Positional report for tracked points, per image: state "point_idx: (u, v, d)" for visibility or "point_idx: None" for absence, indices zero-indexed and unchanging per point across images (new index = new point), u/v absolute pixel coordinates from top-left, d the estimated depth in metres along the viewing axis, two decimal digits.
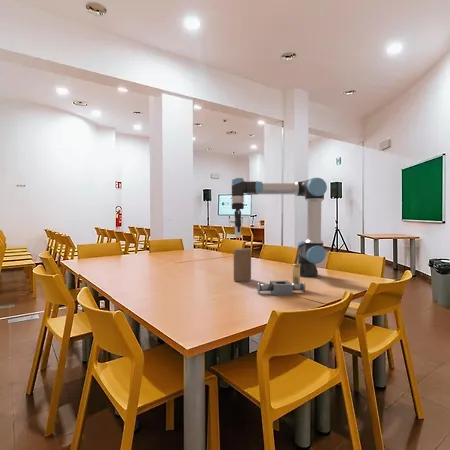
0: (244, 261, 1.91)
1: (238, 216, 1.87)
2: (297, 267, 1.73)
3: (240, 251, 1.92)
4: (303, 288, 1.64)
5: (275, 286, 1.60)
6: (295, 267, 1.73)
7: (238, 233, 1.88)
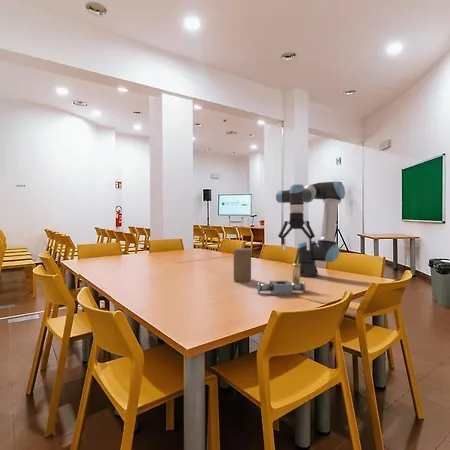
0: (244, 261, 1.91)
1: (282, 227, 1.74)
2: (297, 267, 1.73)
3: (240, 251, 1.92)
4: (303, 288, 1.64)
5: (275, 286, 1.60)
6: (295, 267, 1.73)
7: (283, 245, 1.74)
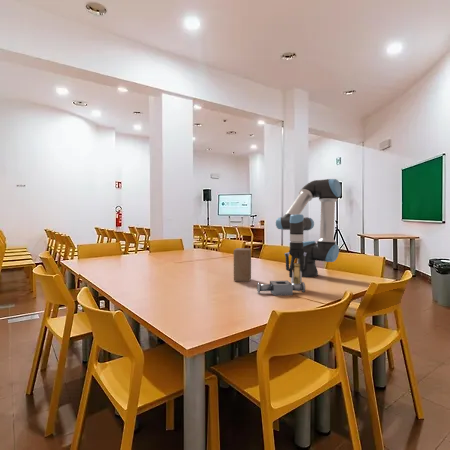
0: (244, 261, 1.91)
1: (286, 259, 1.75)
2: (297, 267, 1.73)
3: (240, 251, 1.92)
4: (303, 288, 1.64)
5: (275, 286, 1.60)
6: (295, 267, 1.73)
7: (291, 278, 1.75)
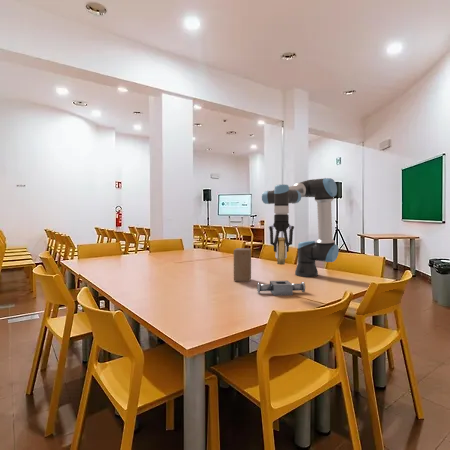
0: (244, 261, 1.91)
1: (270, 233, 1.64)
2: (282, 241, 1.63)
3: (240, 251, 1.92)
4: (303, 288, 1.64)
5: (275, 286, 1.60)
6: (280, 241, 1.63)
7: (276, 253, 1.65)
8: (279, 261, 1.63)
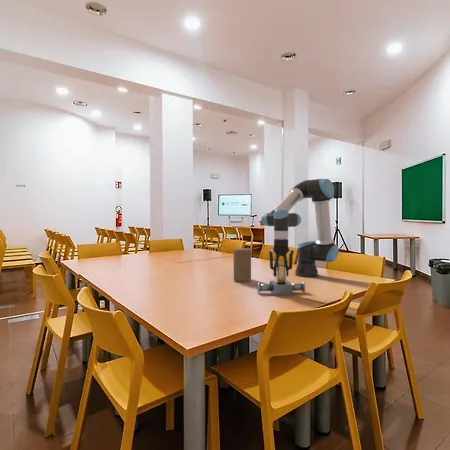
0: (244, 261, 1.91)
1: None
2: (281, 266, 1.63)
3: (240, 251, 1.92)
4: (303, 288, 1.64)
5: (275, 286, 1.60)
6: (279, 266, 1.63)
7: (275, 277, 1.65)
8: None
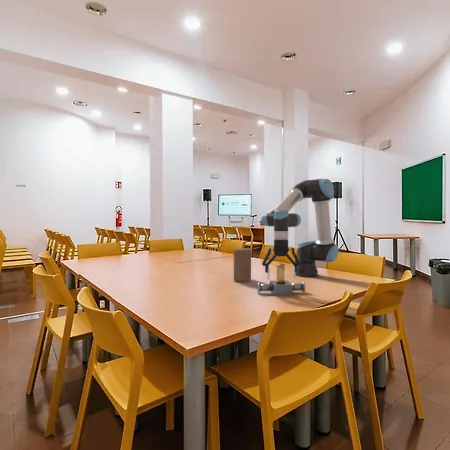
0: (244, 261, 1.91)
1: (266, 254, 1.65)
2: (281, 267, 1.63)
3: (240, 251, 1.92)
4: (303, 288, 1.64)
5: (275, 286, 1.60)
6: (279, 267, 1.63)
7: (267, 274, 1.65)
8: None
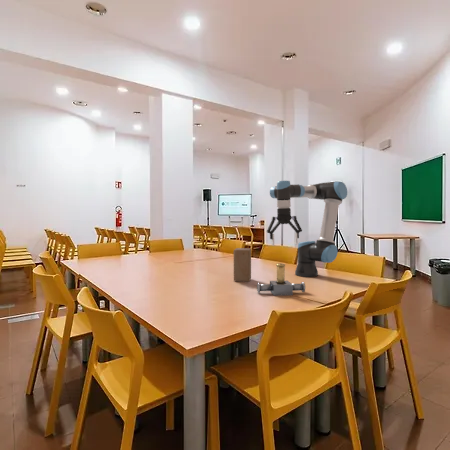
0: (244, 261, 1.91)
1: None
2: (281, 268, 1.63)
3: (240, 251, 1.92)
4: (303, 288, 1.64)
5: (275, 286, 1.60)
6: (279, 268, 1.63)
7: (272, 240, 1.79)
8: None
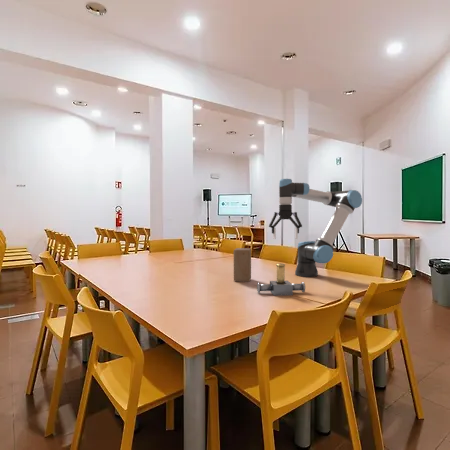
0: (244, 261, 1.91)
1: None
2: (281, 267, 1.63)
3: (240, 251, 1.92)
4: (303, 288, 1.64)
5: (275, 286, 1.60)
6: (279, 268, 1.63)
7: (273, 234, 1.91)
8: None
